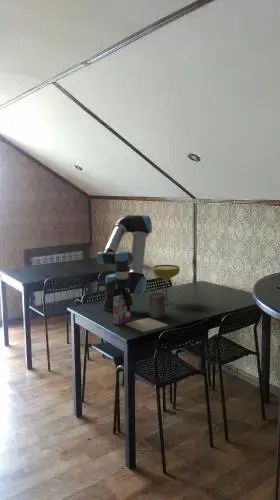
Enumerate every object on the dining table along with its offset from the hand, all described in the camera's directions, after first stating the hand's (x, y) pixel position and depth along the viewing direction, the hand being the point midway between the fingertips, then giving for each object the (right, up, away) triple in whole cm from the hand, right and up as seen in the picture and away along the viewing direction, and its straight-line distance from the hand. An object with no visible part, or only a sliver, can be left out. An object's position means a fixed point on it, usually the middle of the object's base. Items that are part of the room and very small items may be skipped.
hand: (122, 314), depth 265 cm
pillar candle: (+21, -3, +12) cm, 25 cm away
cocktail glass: (+29, +2, +44) cm, 52 cm away
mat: (+14, -6, -5) cm, 16 cm away
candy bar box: (0, -5, +1) cm, 5 cm away
